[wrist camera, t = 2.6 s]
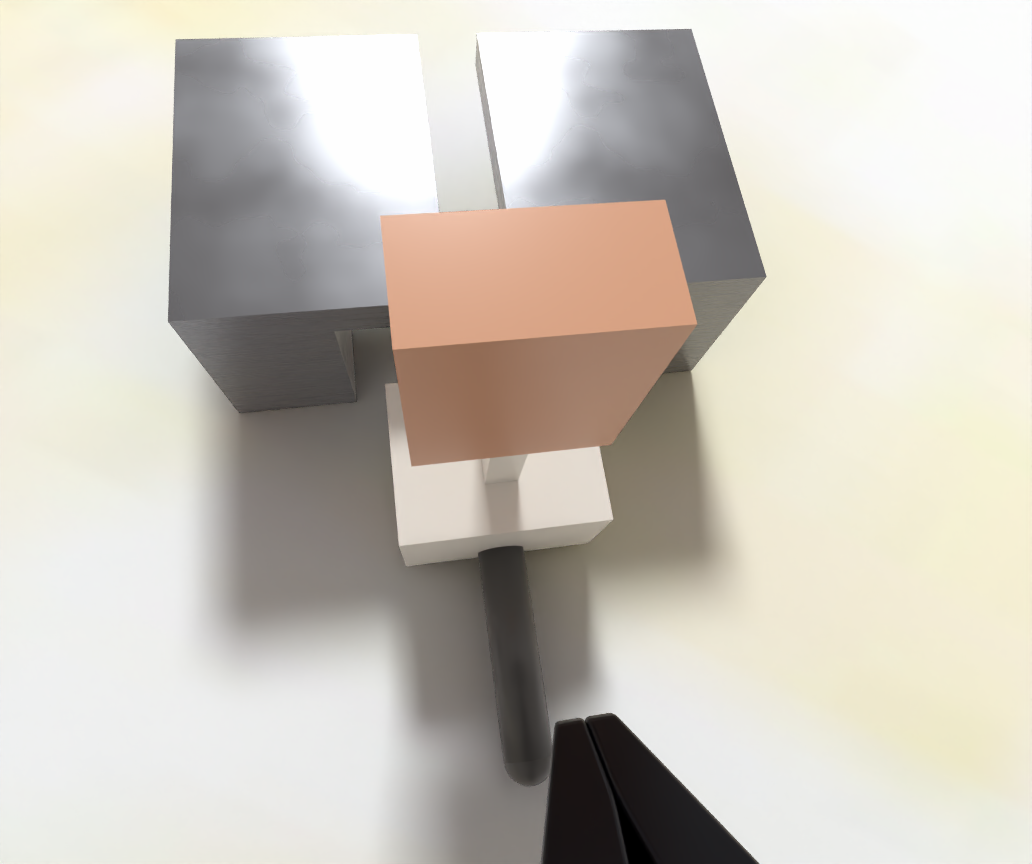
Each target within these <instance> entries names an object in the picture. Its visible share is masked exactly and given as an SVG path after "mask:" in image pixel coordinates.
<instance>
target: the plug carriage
mask: <svg viewBox="0 0 1032 864" xmlns="http://www.w3.org/2000/svg"><path fill="white" fill-rule="evenodd" d="M380 221H381V231H382V242H383V253H384V264H385V275H386V285H387V296H388V307H389V318H390V328H391V339H392V350H393V356H394V362H395V368H396V374H397V381H398V383H388V384H385V392H386V404H387V415H388V427H389V438H390V450H391V461H392V473H393V484H394V496H395V507H396V519H397V530H398V542H399V548H400V551H401V553H402V556H403V559H404V562H405V565H406V566H414V565H421V564H429V563H437V562H445V561H453V560H460V559H468V558H476V557H479V565H480V573H481V581H482V589H483V597H484V605H485V613H486V621H487V629H488V637H489V645H490V654H491V662H492V670H493V678H494V686H495V694H496V702H497V710H498V718H499V726H500V734H501V742H502V750H503V758H504V764H505V768H506V771H507V773H508V774H509V776H510V777H511V778H512V779H513V780H514V781H515V782H517V783H518V784H521V785H523V786H535V785H538V784H540V783H542V782H543V781H544V780H545V779H546V778H547V777H548V776H549V774H550V766H551V756H552V740H551V733H550V726H549V719H548V713H547V706H546V699H545V692H544V685H543V679H542V672H541V665H540V658H539V651H538V645H537V638H536V631H535V624H534V617H533V610H532V604H531V597H530V590H529V583H528V576H527V570H526V563H525V556H524V551H530V550H538V549H546V548H554V547H562V546H569V545H577V544H585V543H589V542H590V541H591V540H592V539H593V538H594V537H595V536H596V535H598V534H599V533H600V532H601V531H602V530H603V529H604V528H605V527H606V526H607V525H608V524H609V523H610V522H611V521H612V520H613V514H612V509H611V504H610V499H609V494H608V489H607V483H606V478H605V473H604V468H603V463H602V457H601V452H600V447H599V446H606V445H612V443H613V442H614V440H615V439H616V438H617V436H618V435H619V433H620V432H621V431H622V429H623V428H624V426H625V425H626V424H627V422H628V421H629V419H630V418H631V417H632V415H633V414H634V412H635V411H636V410H637V408H638V407H639V405H640V404H641V403H642V401H643V400H644V398H645V397H646V396H647V394H648V393H649V391H650V390H651V389H652V387H653V386H654V384H655V383H656V382H657V380H658V379H659V377H660V376H661V375H662V373H663V372H664V370H665V369H666V368H667V366H668V365H669V363H670V362H671V361H672V359H673V358H674V356H675V355H676V354H677V352H678V351H679V349H680V348H681V347H682V345H683V344H684V342H685V341H686V339H687V338H688V337H689V335H690V334H691V332H692V331H693V330H694V328H695V327H696V325H697V320H696V317H695V313H694V309H693V305H692V301H691V297H690V293H689V290H688V286H687V282H686V278H685V274H684V270H683V266H682V262H681V259H680V255H679V251H678V247H677V243H676V239H675V235H674V232H673V228H672V224H671V220H670V216H669V212H668V208H667V204H666V201H665V200H651V201H633V202H615V203H598V204H580V205H562V206H545V207H527V208H509V209H492V210H474V211H456V212H439V213H421V214H404V215H386V216H380Z"/></svg>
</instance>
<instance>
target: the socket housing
mask: <svg viewBox="0 0 1032 864" xmlns="http://www.w3.org/2000/svg"><path fill="white" fill-rule="evenodd" d="M476 71H477V77H478V83H479V90H480V96H481V102H482V108H483V114H484V121H485V127H486V133H487V139H488V145H489V151H490V158H491V164H492V170H493V176H494V182H495V189H496V195H497V201H498V207H499V209H509V208H527V207H545V206H562V205H580V204H598V203H615V202H633V201H651V200H665V201H666V204H667V208H668V212H669V216H670V220H671V224H672V228H673V232H674V235H675V239H676V243H677V247H678V251H679V255H680V259H681V262H682V266H683V270H684V274H685V278H686V282H687V286H688V290H689V293H690V297H691V301H692V305H693V309H694V313H695V317H696V320H697V325H696V327H695V328H694V330H693V331H692V332H691V334H690V335H689V337H688V338H687V339H686V341H685V342H684V344H683V345H682V347H681V348H680V349H679V351H678V352H677V354H676V355H675V356H674V358H673V359H672V361H671V362H670V363H669V365H668V366H667V368H666V369H665V370H664V372H663V373H667V372H678V371H689V370H692V369H693V368H694V367H695V365H696V364H697V363H698V362H699V360H700V359H701V358H702V357H703V355H704V354H705V353H706V352H707V350H708V349H709V348H710V347H711V345H712V344H713V343H714V342H715V340H716V339H717V338H718V337H719V335H720V334H721V333H722V332H723V330H724V329H725V328H726V327H727V325H728V324H729V323H730V322H731V320H732V319H733V318H734V317H735V315H736V314H737V313H738V312H739V310H740V309H741V308H742V307H743V305H744V304H745V303H746V302H747V300H748V299H749V298H750V297H751V295H752V294H753V293H754V292H755V290H756V289H757V288H758V287H759V285H760V284H761V283H762V282H763V280H764V279H765V278H766V274H765V270H764V267H763V264H762V261H761V257H760V254H759V251H758V247H757V244H756V241H755V237H754V234H753V231H752V228H751V224H750V221H749V218H748V214H747V211H746V208H745V205H744V201H743V198H742V195H741V191H740V188H739V185H738V181H737V178H736V175H735V172H734V168H733V165H732V162H731V158H730V155H729V152H728V148H727V145H726V142H725V139H724V135H723V132H722V129H721V125H720V122H719V119H718V116H717V112H716V109H715V106H714V102H713V99H712V96H711V92H710V89H709V86H708V83H707V79H706V76H705V73H704V69H703V66H702V63H701V60H700V56H699V53H698V50H697V46H696V43H695V40H694V36H693V33H692V30H691V29H669V30H620V31H570V32H521V33H477V46H476ZM421 213H439V207H438V199H437V191H436V183H435V175H434V168H433V160H432V152H431V144H430V136H429V128H428V120H427V112H426V105H425V97H424V89H423V81H422V73H421V65H420V57H419V49H418V42H417V35H372V36H322V37H273V38H223V39H176V46H175V83H174V120H173V158H172V195H171V232H170V270H169V307H168V322H169V323H170V325H171V326H172V327H173V329H174V330H175V331H176V332H177V334H178V335H179V336H180V337H181V339H182V340H183V341H184V343H185V344H186V345H187V346H188V348H189V349H190V350H191V352H192V353H193V354H194V355H195V357H196V358H197V359H198V360H199V362H200V363H201V364H202V366H203V367H204V368H205V369H206V371H207V372H208V373H209V375H210V376H211V377H212V378H213V380H214V381H215V382H216V384H217V385H218V386H219V387H220V389H221V390H222V391H223V392H224V394H225V395H226V396H227V398H228V399H229V400H230V401H231V403H232V404H233V405H234V407H235V408H236V409H237V410H238V412H239V413H241V412H252V411H262V410H273V409H284V408H294V407H305V406H316V405H326V404H337V403H348V402H357V395H356V382H355V368H354V354H353V340H352V330H359V329H372V328H384V327H390V318H389V307H388V296H387V285H386V275H385V264H384V253H383V242H382V231H381V221H380V216H386V215H404V214H421Z"/></svg>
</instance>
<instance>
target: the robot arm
mask: <svg viewBox="0 0 1032 864" xmlns="http://www.w3.org/2000/svg"><path fill="white" fill-rule="evenodd" d="M541 864H759V863H758V862H757V861H756V860H755V859H754V858H753V857H752V855H751V854H750V853H749V852H748V851H747V850H746V849H745V848H744V847H743V846H742V845H741V844H740V843H739V842H738V841H737V840H736V839H735V838H734V837H733V836H732V835H731V834H730V833H729V832H728V831H727V830H726V829H725V828H724V826H723V825H722V824H721V823H720V822H719V821H718V820H717V819H716V818H715V817H714V816H713V815H712V814H711V813H710V812H709V811H708V810H707V809H706V808H705V807H704V806H703V805H702V804H701V803H700V802H699V801H698V800H697V798H696V797H695V796H694V795H693V794H692V793H691V792H690V791H689V790H688V789H687V788H686V787H685V786H684V785H683V784H682V783H681V782H680V781H679V780H678V779H677V778H676V777H675V776H674V775H673V774H672V773H671V772H670V771H669V769H668V768H667V767H666V766H665V765H664V764H663V763H662V762H661V761H660V760H659V759H658V758H657V757H656V756H655V755H654V754H653V753H652V752H651V751H650V750H649V749H648V748H647V747H646V746H645V745H644V744H643V743H642V741H641V740H640V739H639V738H638V737H637V736H636V735H635V734H634V733H633V732H632V731H631V730H630V729H629V728H628V727H627V726H626V725H625V724H624V723H623V722H622V721H621V720H620V719H619V718H618V717H617V716H616V715H615V714H612V713H606V714H599V715H593V716H589V717H587V718H586V719H585V721H584V720H583V719H581V718H575V719H569V720H563V721H558V722H557V723H556V724H555V727H554V735H553V745H552V756H551V766H550V776H549V786H548V796H547V806H546V816H545V826H544V836H543V846H542V856H541Z"/></svg>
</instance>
